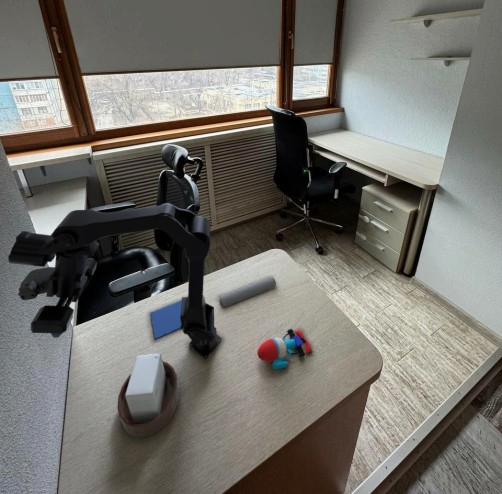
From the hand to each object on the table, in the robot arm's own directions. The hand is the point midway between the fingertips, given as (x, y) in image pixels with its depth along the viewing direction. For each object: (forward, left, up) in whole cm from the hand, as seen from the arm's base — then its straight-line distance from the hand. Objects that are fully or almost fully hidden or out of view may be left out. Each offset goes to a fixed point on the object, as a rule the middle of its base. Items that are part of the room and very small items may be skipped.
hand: (65, 318), depth 63 cm
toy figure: (-42, -32, -17) cm, 55 cm away
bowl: (-22, -5, -17) cm, 28 cm away
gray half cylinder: (-23, -42, -17) cm, 51 cm away
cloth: (-10, -23, -17) cm, 30 cm away
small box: (-22, -5, -17) cm, 28 cm away
